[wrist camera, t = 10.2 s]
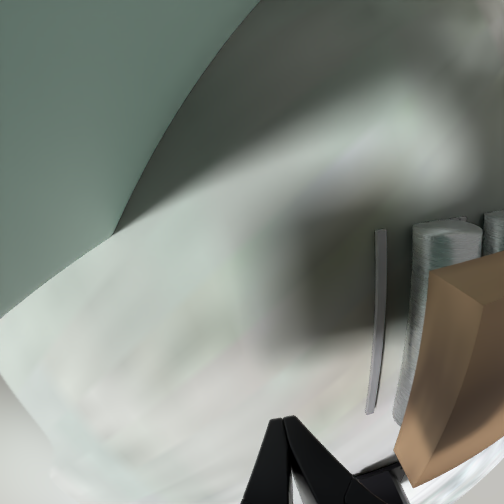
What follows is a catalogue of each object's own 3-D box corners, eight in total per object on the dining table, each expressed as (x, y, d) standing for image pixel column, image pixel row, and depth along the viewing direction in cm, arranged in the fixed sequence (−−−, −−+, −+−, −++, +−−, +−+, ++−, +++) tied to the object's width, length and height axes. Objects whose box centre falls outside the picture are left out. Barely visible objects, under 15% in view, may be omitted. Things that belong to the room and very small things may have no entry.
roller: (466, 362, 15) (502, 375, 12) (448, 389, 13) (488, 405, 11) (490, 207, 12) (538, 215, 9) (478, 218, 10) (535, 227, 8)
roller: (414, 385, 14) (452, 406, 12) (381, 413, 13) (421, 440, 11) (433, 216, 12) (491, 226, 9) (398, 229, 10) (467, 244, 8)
